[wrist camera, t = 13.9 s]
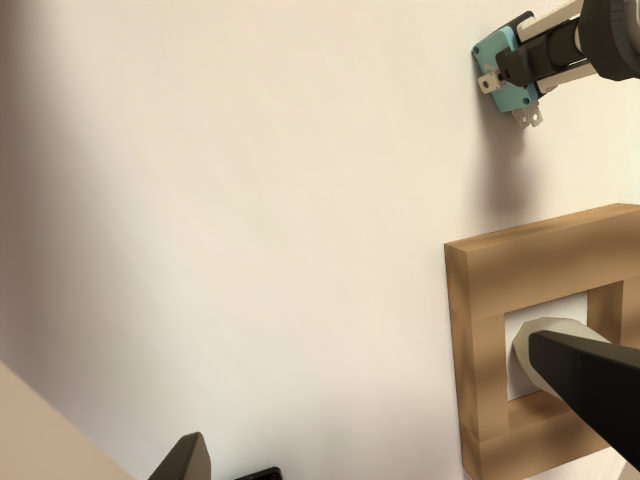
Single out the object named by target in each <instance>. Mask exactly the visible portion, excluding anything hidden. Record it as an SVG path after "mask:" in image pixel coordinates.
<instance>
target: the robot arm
mask: <svg viewBox="0 0 640 480" xmlns="http://www.w3.org/2000/svg"><path fill="white" fill-rule="evenodd" d="M528 358H529V362H530V364H531V366H532V367H533V369H534V370H535V371H536V372H537V373H538V374H539V375H540V376H541V377H542V378H543V379H544V380H545V381H546V383H547V384H548V385H549V386H550V387H551V388H552V389H553V390H554V391H555V392H556V393H557V394H558V395H559V396H560V397H561V398H562V400H563V401H564V402H565V403H566V404H567V405H568V406H569V407H570V408H571V409H572V410H573V411H574V412H575V413H576V414H577V415H578V416H579V417H580V418H581V419H582V420H583V421H584V422H585V423H586V424H587V425H588V426H589V427H590V428H592V429H593V430H594V431H595V432H596V433H597V434H598V435H599V436H600V437H601V438H603V439H604V440H605V441H606V442H607V443H608V444H609V445H610V446H611V447H612V448H614V449H615V450H616V451H617V452H618V453H619V454H620V455H621V456H622V457H623V458H624V459H626V460H627V461H628V462H629V463H630V464H631V465H632V466H633V467H635V468H636V469H637V470H638V471H639V472H640V349H637V348H632V347H627V346H622V345H618V344H613V343H608V342H603V341H598V340H593V339H588V338H583V337H578V336H573V335H569V334H564V333H559V332H554V331H549V330H539V331H536V332H533V333H531V334H529V336H528ZM273 475H275V476H273ZM148 480H211V461H210V457H209V454H208V451H207V447H206V444H205V441H204V438H203V435H202V434H201V432H195V433H191V434H188V435H185V436H183V437H181V438H180V440H179V441H178V442H177V443H176V445H175V446H174V447H173V448H172V450H171V451H170V452H169V453H168V455H167V456H166V457H165V458H164V460H163V461H162V462H161V464H160V465H159V466H158V467H157V469H156V470H155V471H154V472H153V474H152V475H151V476H150V477H149V479H148ZM235 480H283V478H282V474H281V470H280V469H279V468H278V467H272V468H269V469H266V470H263V471H260V472H257V473H254V474H251V475H247V476H244V477H241V478H238V479H235Z"/></svg>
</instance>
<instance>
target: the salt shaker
mask: <svg viewBox="0 0 640 480" xmlns="http://www.w3.org/2000/svg"><path fill="white" fill-rule="evenodd" d="M539 330H549V331H554V332H559V333H564V334H569V335H573V336H578V337H583V338H588V339H593V340H598V341H603V342H608V343H611V342H609V341H608V340H606V339H605V338H604V337H602V336H601V335H599V334H598V333H596V332H595V331H593V330H592V329H590V328H589V327H587V326H586V325H584V324H582V323H581V322H579V321H577V320H573V319H567V318H551V317H542V318H539V319H535V320H532V321H528V322H525V323H524V324H523V326H522V327H521V329H520V331H519V332H518V334H517V336H516V337H515V339H514V341H513V345H514V349H515V352H516V356H517V359H518V361H519V363H520V364H521V366H522V367H523V369H524V371H525V372H526V374H527V375H528V377H529V378H530V380H531V381H532V382H533V383H534V384H535V385H536V386H537V387H538V388H540V389H542V390H544V391H546V392H548V393H550V394H551V395H553V396H555V397H557V398H559V399H561V400H562V398H561V397H560V396H559V395H558V394H557V393H556V392H555V391H554V390H553V389H552V388H551V387H550V386H549V385H548V384H547V383H546V381H545V380H544V379H543V378H542V377H541V376H540V375H539V374H538V373H537V372H536V371H535V370H534V369H533V367H532V366H531V364H530V362H529V358H528V336H529V334H531V333H533V332H536V331H539Z"/></svg>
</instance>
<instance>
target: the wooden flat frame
mask: <svg viewBox="0 0 640 480" xmlns="http://www.w3.org/2000/svg"><path fill="white" fill-rule="evenodd" d="M444 248H445V259H446V271H447V283H448V295H449V307H450V318H451V330H452V342H453V354H454V365H455V377H456V389H457V401H458V413H459V424H460V436H461V448H462V460H463V467H464V468H465V469H466V471H467V472H468V474H469V475H470V476H471V478H472V479H473V480H523V479H525V478H528V477H531V476H533V475H536V474H539V473H541V472H544V471H547V470H549V469H552V468H555V467H557V466H560V465H563V464H565V463H568V462H571V461H573V460H576V459H578V458H581V457H584V456H586V455H589V454H592V453H594V452H597V451H600V450H602V449H605V448H608V447H610V445H609V444H608V443H607V442H606V441H605V440H604V439H603V438H601V437H600V436H599V435H598V434H597V433H596V432H595V431H594V430H593V429H592V428H590V427H589V426H588V425H587V424H586V423H585V422H584V421H583V420H582V419H581V418H580V417H579V416H578V415H577V414H576V413H575V412H574V411H573V410H572V409H571V408H570V407H569V406H568V405H567V404H566V403H565V402H564V401H563V400H561V399H559V398H557V397H555V396H553V395H551V394H550V393H548V392H546V391H544V390H542V391H539V392H536V393H533V394H530V395H527V396H524V397H521V398H518V399H515V400H512V401H509V402H508V396H507V372H506V347H505V323H504V313H507V312H511V311H514V310H518V309H521V308H525V307H528V306H532V305H536V304H539V303H543V302H546V301H550V300H553V299H557V298H560V297H564V296H568V295H571V294H575V293H578V292H582V291H585V290H589V292H588V327H589V328H590V329H592V330H593V331H595V332H596V333H598V334H599V335H601V336H602V337H604V338H605V339H606V340H608V341H609V342H611V343H613V344H618V345H622V346H627V347H632V348H637V349H640V205H635V204H622V203H616V204H612V205H607V206H603V207H599V208H594V209H590V210H586V211H582V212H577V213H573V214H569V215H565V216H560V217H556V218H552V219H548V220H543V221H539V222H535V223H530V224H526V225H522V226H518V227H513V228H509V229H505V230H501V231H496V232H492V233H488V234H483V235H479V236H475V237H471V238H466V239H462V240H458V241H454V242H449V243H445V244H444Z"/></svg>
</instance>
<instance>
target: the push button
mask: <svg viewBox="0 0 640 480" xmlns="http://www.w3.org/2000/svg"><path fill="white" fill-rule="evenodd" d="M579 13H581V14H580V16H579V17H577V18H575V19H573V20H569V18H571V17H573V16H575V15H577V14H579ZM472 50H473V54H474V56H475V57H476V59H477V62H478V64H479V66H480V69H481V71H482V73H483V76H482V77H480V78H478V83H479V86H480V88H481V90H482V92H483V93H485V94H486V93H489V92H491V94H492V96H493V99H494V101H495V103H496V105H497V108H498V110H499V111H500V112H507V111H512V114H513V116H516V118H517V120H518V122H519V125H520V127H521V129H524V128H525V127H527V126H528V125H530V124H532V127H535V126H537V125H538V124H540V123H541V122H542V121H543V118H542V116H541V113H540V111H539V108H538V105H539V102H538V99H540V98H541V97H542V96H544V95H545V94H547V93H548V92H550V91H552V90H553V89H555V88H556V87H557V86H558V85H559V84H562V83H566V82H569V81H572V80H576V79H579V78H582V77H586V76H589V75H592V74H596V73H598V74H599V76H600V77H603V78H606V79H610V80H614V81H622V80H626V79H630V78H633V77H634V78H638V79H640V0H571V1H569V2H567V3H565V4H564V5H562V6H560V7H558V8H556V9H555V10H553V11H551V12H549V13H547V14H546V15H544V16H542V17H540V18H538V19H537V20H536V19H535V17H534V14H533V13H532V12H531V11H527V12H525V13H523V14H522V15H520V16H518V17H517V18H515V19H513V20H512V21H510V22H508V23H507V24H505V25H504V26H502V27H500V28H499V29H497V30H496V31H495V32H493V33H492V34H490V35H489V36H487V37H486V38H484V39H483V40H482V41H480V42H479V43H477V44H476V45H474V47H473V49H472ZM585 58H587V59H586V60H583V61H580V60H582V59H585ZM577 61H580V62H577ZM574 62H577V63H574ZM571 63H574V64H571ZM569 64H571V65H569ZM568 65H569V66H568ZM484 81H486V82H487V85H488V88H487V87H485V86H484ZM535 114H537V116H538V118H537V120H536V121H535V120H534V119H533V116H534V115H535ZM523 117H525V118H526V121H525V123H523V122H522V118H523Z"/></svg>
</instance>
